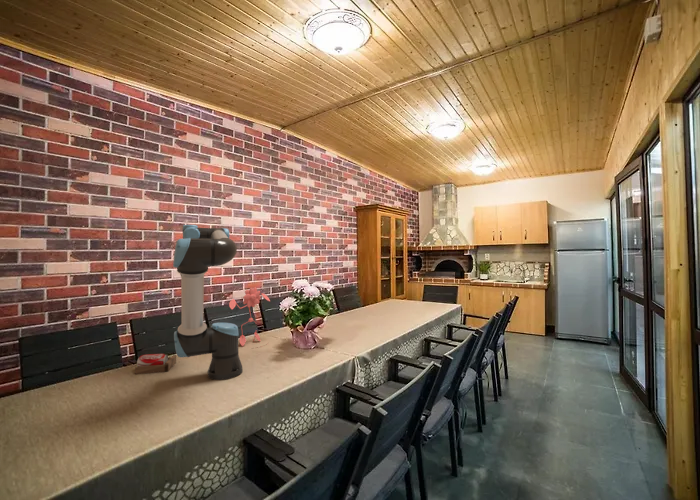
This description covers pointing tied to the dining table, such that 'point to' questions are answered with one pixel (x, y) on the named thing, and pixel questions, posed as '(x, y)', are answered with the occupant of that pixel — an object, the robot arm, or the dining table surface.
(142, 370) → the u rest
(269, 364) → the dining table surface
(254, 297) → the pink flower figure
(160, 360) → the soda can
